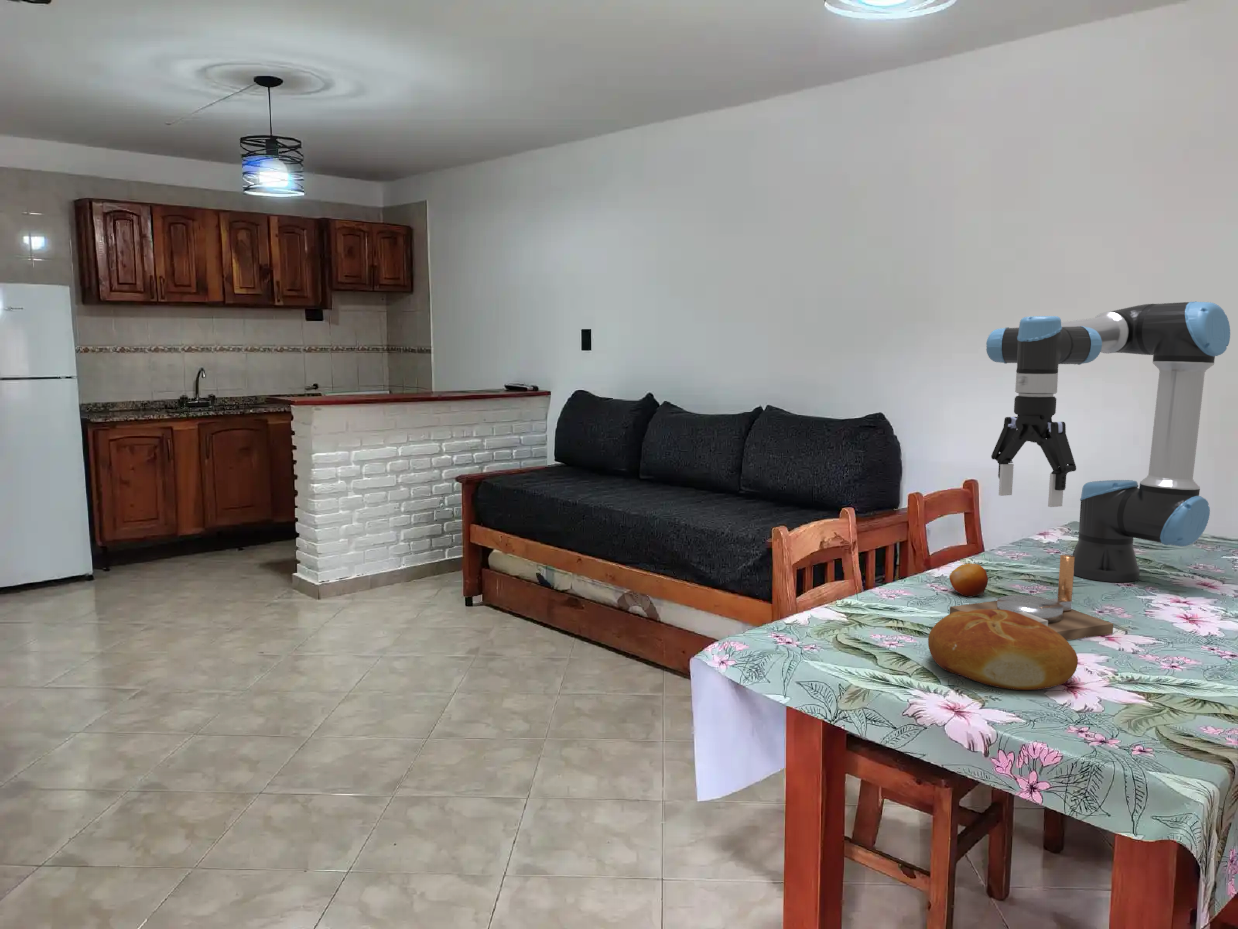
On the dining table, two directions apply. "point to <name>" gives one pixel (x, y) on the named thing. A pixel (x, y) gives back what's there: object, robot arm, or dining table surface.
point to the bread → (1002, 649)
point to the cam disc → (1042, 606)
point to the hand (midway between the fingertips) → (1029, 500)
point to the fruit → (969, 579)
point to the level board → (1067, 627)
